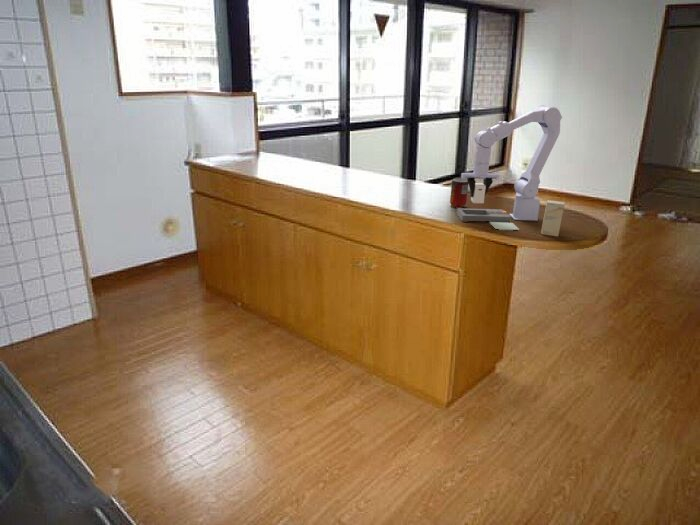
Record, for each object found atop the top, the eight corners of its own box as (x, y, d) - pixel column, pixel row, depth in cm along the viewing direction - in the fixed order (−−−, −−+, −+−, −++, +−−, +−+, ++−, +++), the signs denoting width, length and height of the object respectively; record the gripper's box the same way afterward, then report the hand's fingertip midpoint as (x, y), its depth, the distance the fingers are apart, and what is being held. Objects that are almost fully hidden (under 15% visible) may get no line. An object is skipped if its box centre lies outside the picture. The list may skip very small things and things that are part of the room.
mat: (512, 223, 201) (512, 222, 200) (519, 230, 192) (519, 229, 192) (489, 223, 200) (489, 221, 200) (495, 230, 192) (495, 228, 192)
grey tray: (502, 215, 212) (502, 208, 211) (509, 222, 202) (510, 215, 201) (456, 213, 212) (457, 206, 211) (461, 221, 202) (462, 214, 201)
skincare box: (540, 234, 189) (546, 202, 184) (541, 231, 192) (546, 199, 188) (558, 236, 187) (564, 204, 182) (558, 233, 190) (564, 201, 186)
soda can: (469, 206, 224) (472, 178, 219) (459, 209, 219) (462, 181, 215) (455, 203, 228) (458, 176, 224) (446, 206, 224) (448, 178, 219)
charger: (480, 200, 207) (482, 183, 204) (483, 203, 202) (485, 185, 200) (470, 199, 207) (472, 182, 204) (473, 203, 202) (475, 185, 200)
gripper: (465, 163, 195) (461, 198, 200) (503, 165, 195) (498, 199, 200) (461, 160, 202) (458, 194, 207) (498, 161, 202) (493, 195, 207)
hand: (477, 196), depth 204 cm, fingers closed on charger, 4 cm apart
